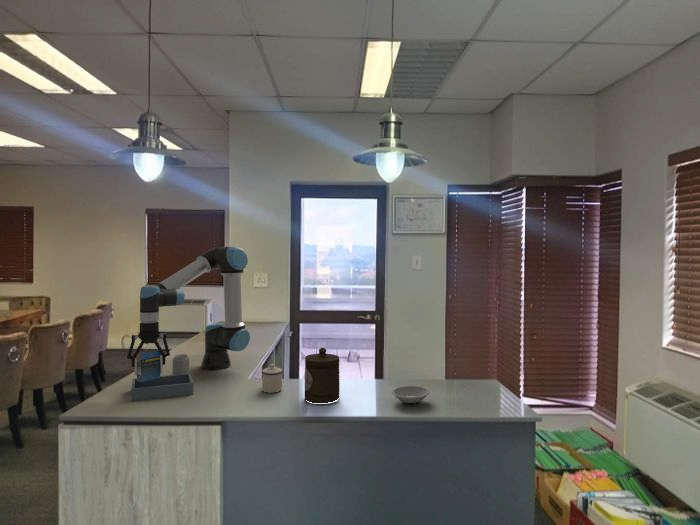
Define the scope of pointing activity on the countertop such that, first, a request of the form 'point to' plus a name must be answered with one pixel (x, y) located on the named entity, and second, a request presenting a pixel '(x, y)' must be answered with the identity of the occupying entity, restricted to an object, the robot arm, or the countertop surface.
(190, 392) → the tote
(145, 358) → the blue retail box
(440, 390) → the countertop surface
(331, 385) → the wooden container
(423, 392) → the dish
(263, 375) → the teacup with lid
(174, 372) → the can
